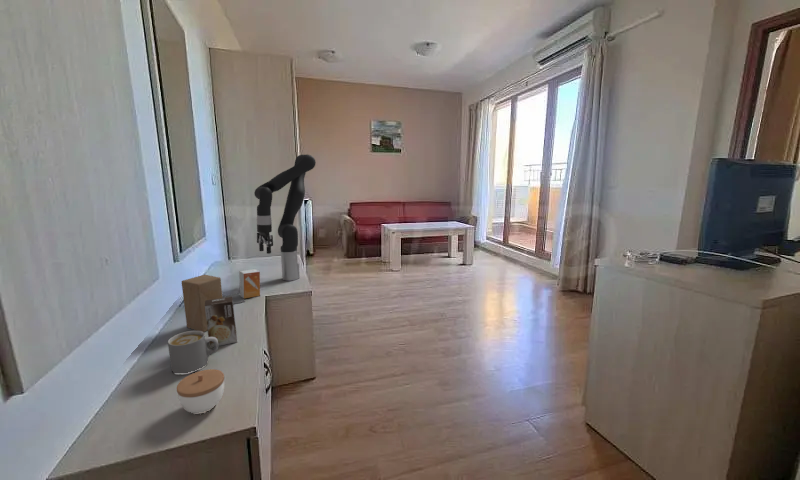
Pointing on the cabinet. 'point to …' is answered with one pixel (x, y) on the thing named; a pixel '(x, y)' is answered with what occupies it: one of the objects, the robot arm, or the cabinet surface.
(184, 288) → the wooden block
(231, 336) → the coffee box
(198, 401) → the lidded jar
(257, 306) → the cabinet surface
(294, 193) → the robot arm
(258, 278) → the small box
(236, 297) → the mat
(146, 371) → the cabinet surface
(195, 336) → the coffee mug
